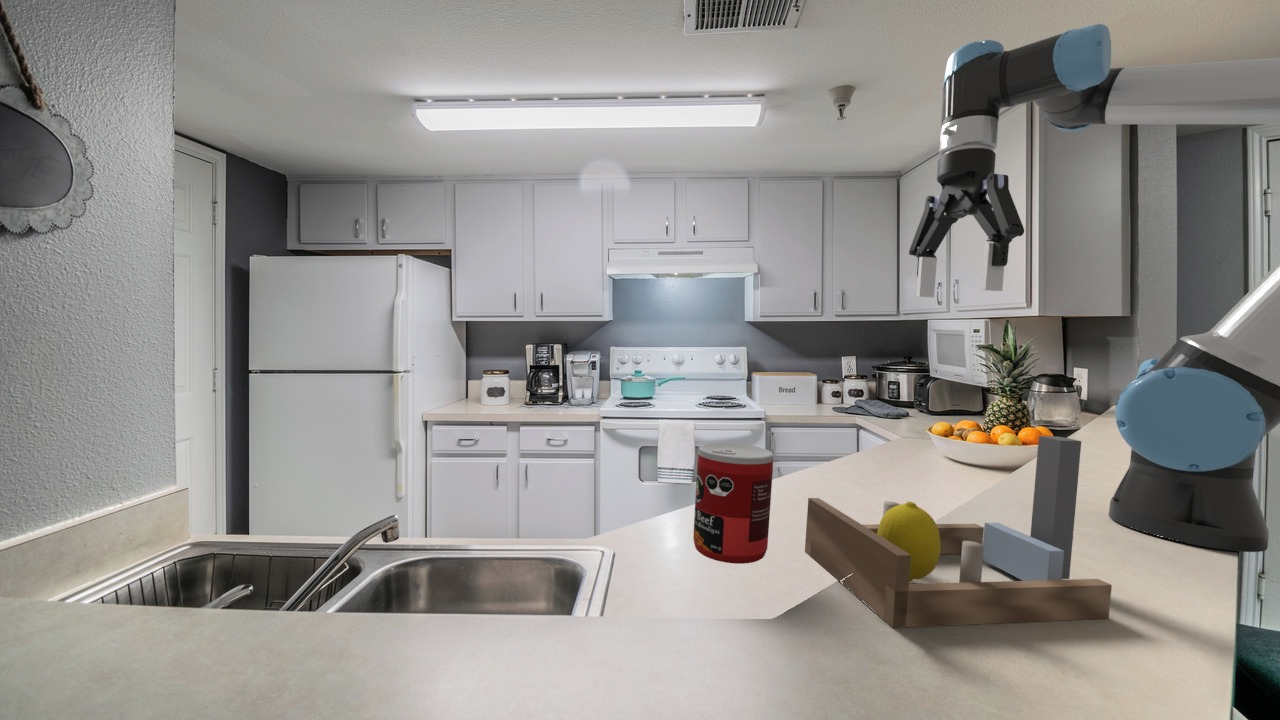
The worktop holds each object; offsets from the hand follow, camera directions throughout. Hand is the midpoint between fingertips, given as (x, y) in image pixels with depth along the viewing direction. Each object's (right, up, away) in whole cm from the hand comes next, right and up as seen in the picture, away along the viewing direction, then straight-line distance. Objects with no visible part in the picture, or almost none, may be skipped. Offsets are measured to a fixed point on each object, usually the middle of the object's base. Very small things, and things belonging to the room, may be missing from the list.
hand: (955, 294), depth 82 cm
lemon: (-23, -32, -30) cm, 50 cm away
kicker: (-8, -32, -28) cm, 43 cm away
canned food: (-39, -31, -24) cm, 55 cm away
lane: (-19, -32, -29) cm, 47 cm away
